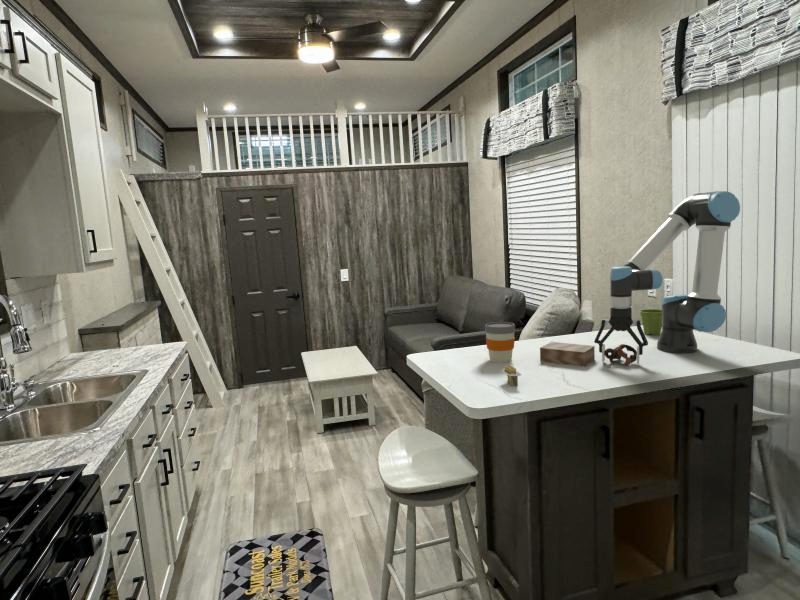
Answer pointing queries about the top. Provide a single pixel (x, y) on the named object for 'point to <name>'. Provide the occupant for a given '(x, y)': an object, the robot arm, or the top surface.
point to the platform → (511, 374)
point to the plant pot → (651, 321)
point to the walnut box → (567, 353)
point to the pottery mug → (621, 354)
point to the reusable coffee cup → (500, 340)
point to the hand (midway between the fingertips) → (620, 361)
